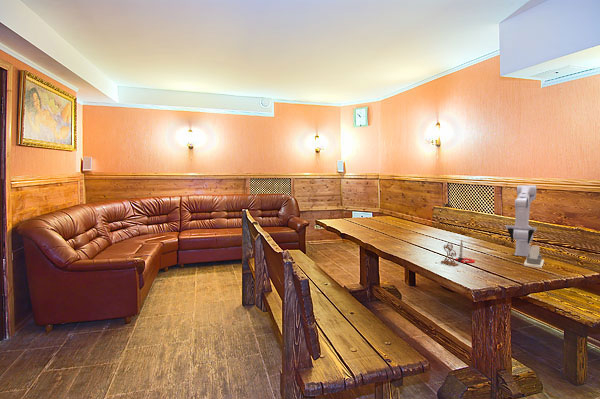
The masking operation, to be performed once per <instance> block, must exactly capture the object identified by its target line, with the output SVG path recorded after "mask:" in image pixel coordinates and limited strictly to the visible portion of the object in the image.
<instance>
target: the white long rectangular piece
mask: <svg viewBox="0 0 600 399" xmlns="http://www.w3.org/2000/svg"><path fill="white" fill-rule="evenodd" d="M539 255H540V245H534V244H532V245H530V258H531V259H538V256H539Z"/></svg>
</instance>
